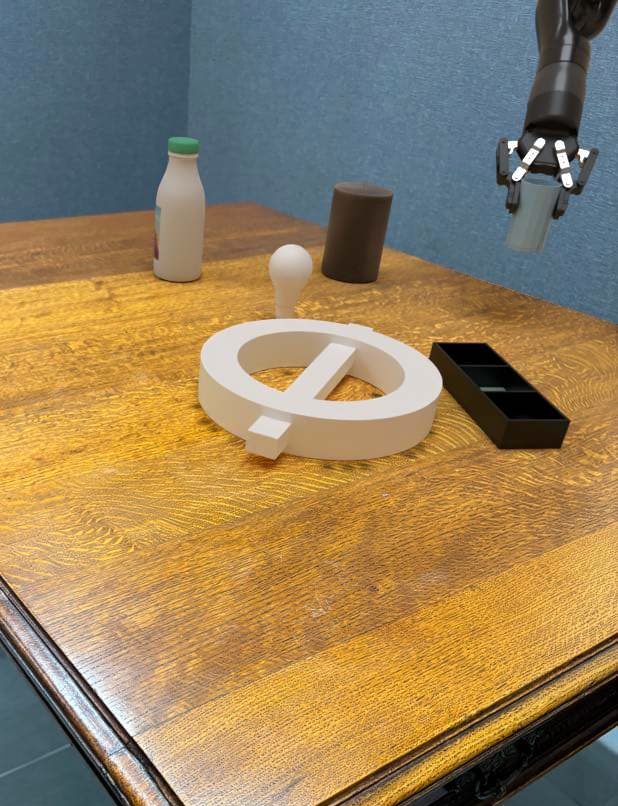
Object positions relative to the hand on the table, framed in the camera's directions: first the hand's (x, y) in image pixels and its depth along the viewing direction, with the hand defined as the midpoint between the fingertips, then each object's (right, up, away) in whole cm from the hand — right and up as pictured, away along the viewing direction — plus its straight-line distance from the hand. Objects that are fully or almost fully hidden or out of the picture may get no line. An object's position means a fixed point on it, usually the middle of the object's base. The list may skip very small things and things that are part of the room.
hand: (534, 213), depth 114 cm
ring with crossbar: (-33, -29, -17) cm, 47 cm away
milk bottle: (-51, -3, +17) cm, 54 cm away
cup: (0, -3, +4) cm, 6 cm away
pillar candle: (-22, -1, +25) cm, 33 cm away
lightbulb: (-35, -15, +4) cm, 38 cm away
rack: (-11, -29, -14) cm, 34 cm away
